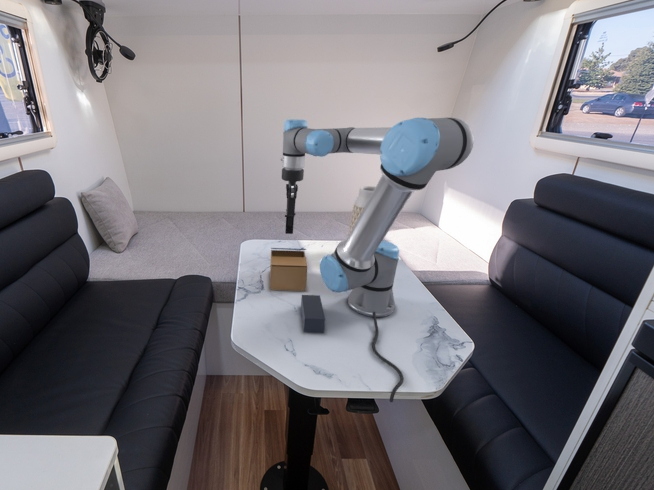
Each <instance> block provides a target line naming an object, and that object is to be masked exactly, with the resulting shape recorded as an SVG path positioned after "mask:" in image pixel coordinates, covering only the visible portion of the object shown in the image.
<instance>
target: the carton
mask: <svg viewBox="0 0 654 490" xmlns="http://www.w3.org/2000/svg"><path fill="white" fill-rule="evenodd" d="M269 265H270V266H269V267H270V268H269V270H270V271H269V290H270V291H290V292H291V291H292V292H306V289H307V280H308V279H307V278H308V260H307V257H306V252H305V250H285V249H271V250H270V264H269Z"/></svg>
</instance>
